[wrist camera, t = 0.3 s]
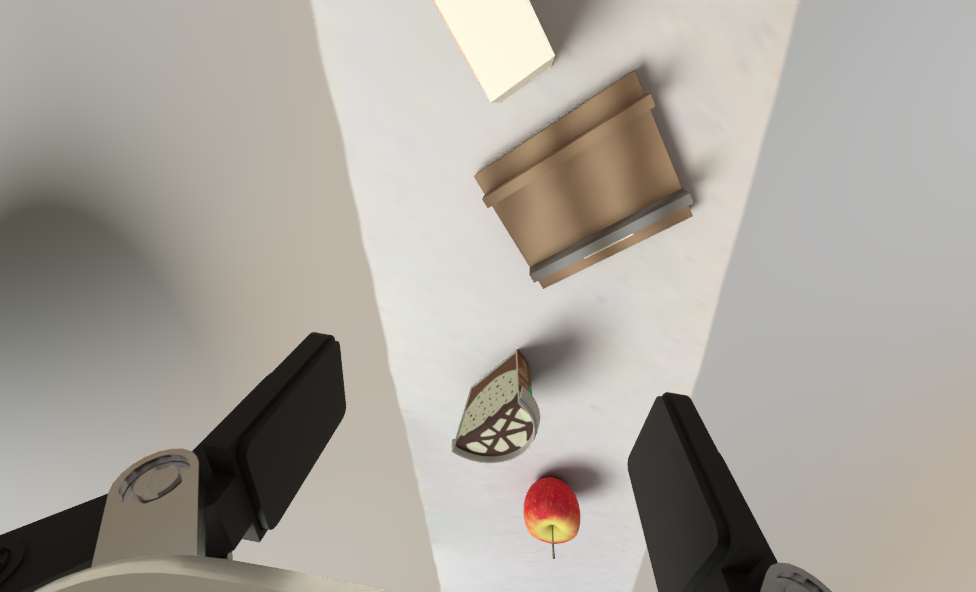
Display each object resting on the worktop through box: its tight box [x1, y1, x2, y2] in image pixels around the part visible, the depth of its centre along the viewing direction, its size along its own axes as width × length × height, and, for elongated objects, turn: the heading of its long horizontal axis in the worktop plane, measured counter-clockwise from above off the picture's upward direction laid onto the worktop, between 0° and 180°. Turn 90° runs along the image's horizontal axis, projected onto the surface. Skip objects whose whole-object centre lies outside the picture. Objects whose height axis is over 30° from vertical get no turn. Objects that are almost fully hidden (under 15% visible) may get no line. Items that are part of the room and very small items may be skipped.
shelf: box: [474, 71, 694, 289], centre depth 34 cm, size 16×14×4 cm
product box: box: [433, 0, 555, 102], centre depth 27 cm, size 5×10×9 cm, turn 33°
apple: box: [524, 477, 580, 559], centre depth 53 cm, size 8×8×10 cm
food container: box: [452, 350, 540, 463], centre depth 44 cm, size 12×6×10 cm, turn 139°
